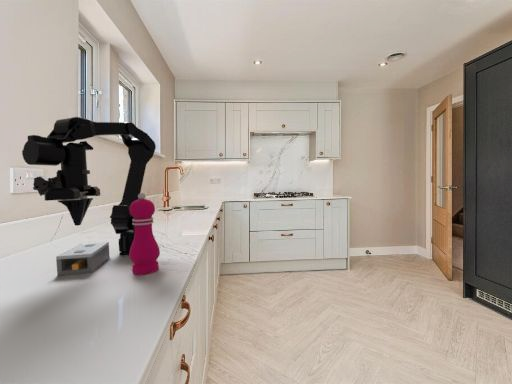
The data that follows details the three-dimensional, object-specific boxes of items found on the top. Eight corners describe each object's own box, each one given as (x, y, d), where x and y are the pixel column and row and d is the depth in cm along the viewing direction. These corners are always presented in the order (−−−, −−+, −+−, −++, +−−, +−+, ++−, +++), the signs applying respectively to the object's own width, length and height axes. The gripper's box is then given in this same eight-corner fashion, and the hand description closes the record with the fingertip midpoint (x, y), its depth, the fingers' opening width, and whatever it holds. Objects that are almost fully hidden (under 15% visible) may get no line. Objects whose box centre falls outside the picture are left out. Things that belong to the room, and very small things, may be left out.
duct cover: (108, 244, 84) (108, 241, 84) (91, 256, 70) (91, 253, 70) (79, 246, 82) (79, 243, 82) (56, 259, 69) (56, 255, 69)
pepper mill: (166, 267, 73) (162, 191, 72) (147, 276, 66) (142, 193, 65) (144, 265, 75) (140, 192, 74) (123, 274, 68) (119, 194, 67)
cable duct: (109, 257, 84) (108, 244, 84) (92, 272, 71) (91, 256, 70) (80, 259, 83) (79, 246, 83) (57, 275, 69) (56, 259, 69)
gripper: (57, 168, 80) (60, 222, 80) (15, 165, 61) (20, 234, 62) (99, 167, 82) (102, 219, 83) (71, 163, 64) (75, 230, 64)
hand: (77, 225), depth 73 cm, fingers closed
